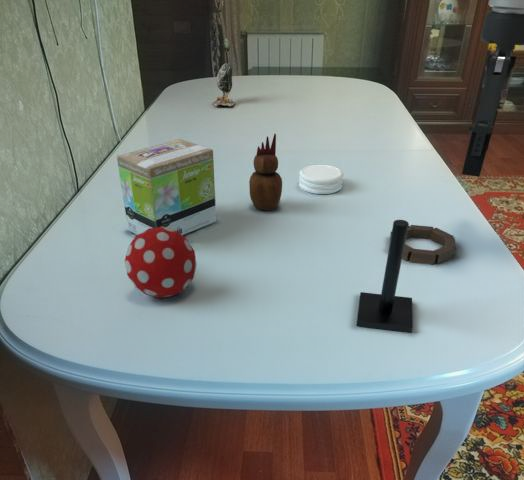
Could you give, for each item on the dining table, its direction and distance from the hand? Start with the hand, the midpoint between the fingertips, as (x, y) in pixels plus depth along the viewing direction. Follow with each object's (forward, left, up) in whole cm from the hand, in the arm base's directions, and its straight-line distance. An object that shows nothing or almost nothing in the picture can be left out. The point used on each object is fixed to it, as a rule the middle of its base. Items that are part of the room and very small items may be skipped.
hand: (475, 161), depth 85 cm
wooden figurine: (+38, -9, -16) cm, 42 cm away
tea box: (+54, +4, -16) cm, 56 cm away
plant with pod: (+70, -91, -16) cm, 116 cm away
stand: (+12, +26, -15) cm, 32 cm away
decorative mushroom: (+48, +24, -16) cm, 56 cm away
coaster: (+28, -23, -16) cm, 40 cm away
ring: (+6, +3, -15) cm, 17 cm away
